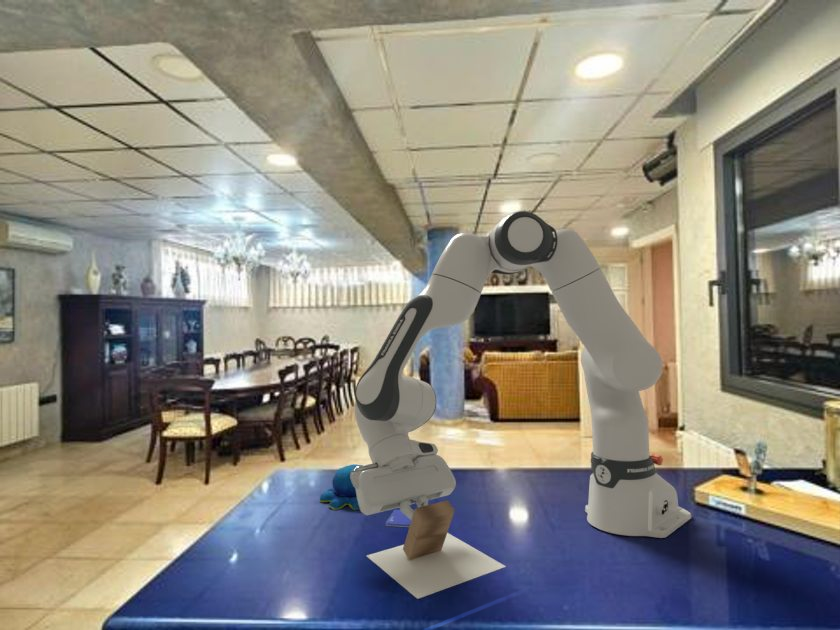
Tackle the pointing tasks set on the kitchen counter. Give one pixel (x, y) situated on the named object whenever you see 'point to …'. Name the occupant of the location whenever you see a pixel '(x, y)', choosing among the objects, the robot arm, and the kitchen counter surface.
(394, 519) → the hard drive
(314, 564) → the kitchen counter surface
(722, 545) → the kitchen counter surface
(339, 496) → the plush toy
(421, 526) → the teal-faced wooden block
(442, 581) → the mat
